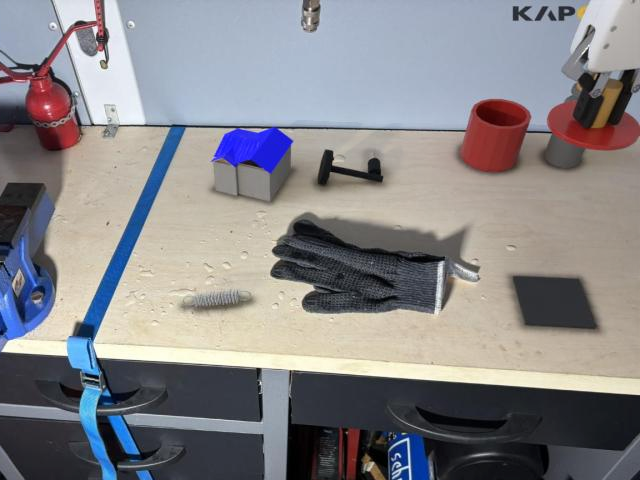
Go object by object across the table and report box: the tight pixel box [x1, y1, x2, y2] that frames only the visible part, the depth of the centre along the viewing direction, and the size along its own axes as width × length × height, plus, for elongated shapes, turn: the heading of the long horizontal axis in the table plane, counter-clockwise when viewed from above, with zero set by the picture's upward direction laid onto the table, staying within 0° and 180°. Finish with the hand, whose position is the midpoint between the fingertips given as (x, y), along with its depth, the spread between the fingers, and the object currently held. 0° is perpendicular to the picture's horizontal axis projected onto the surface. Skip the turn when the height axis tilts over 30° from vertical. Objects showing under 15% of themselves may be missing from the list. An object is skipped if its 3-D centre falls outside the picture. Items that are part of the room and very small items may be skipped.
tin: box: [460, 98, 532, 173], centre depth 104 cm, size 9×9×8 cm
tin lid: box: [546, 77, 640, 152], centre depth 71 cm, size 10×10×6 cm
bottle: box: [543, 73, 597, 169], centre depth 100 cm, size 6×6×15 cm
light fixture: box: [317, 148, 385, 186], centre depth 105 cm, size 6×11×13 cm
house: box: [210, 126, 294, 202], centre depth 103 cm, size 10×11×8 cm
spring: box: [181, 289, 252, 308], centre depth 86 cm, size 10×2×2 cm, turn 95°
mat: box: [512, 275, 597, 330], centre depth 83 cm, size 9×9×1 cm
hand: (595, 119), depth 72 cm, fingers closed on tin lid, 2 cm apart
